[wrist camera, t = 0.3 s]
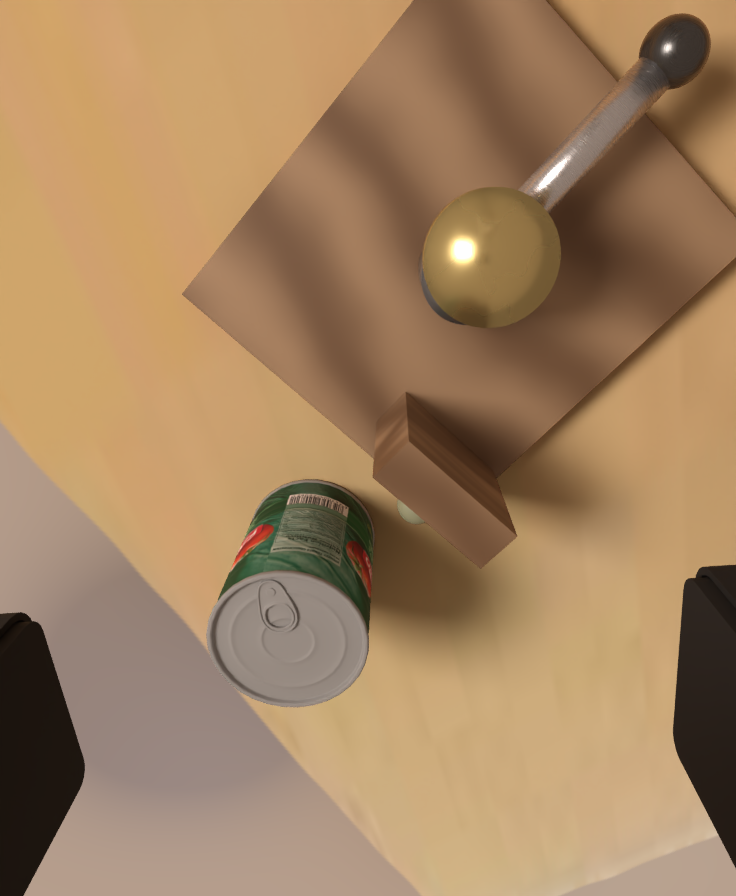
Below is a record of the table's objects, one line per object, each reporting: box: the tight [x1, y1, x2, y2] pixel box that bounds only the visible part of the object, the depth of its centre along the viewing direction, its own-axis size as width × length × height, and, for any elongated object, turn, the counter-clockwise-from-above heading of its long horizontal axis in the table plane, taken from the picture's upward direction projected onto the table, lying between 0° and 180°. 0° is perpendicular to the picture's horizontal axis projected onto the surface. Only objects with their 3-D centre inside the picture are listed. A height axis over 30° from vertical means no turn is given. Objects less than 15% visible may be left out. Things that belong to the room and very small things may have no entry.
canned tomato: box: [207, 480, 374, 707], centre depth 37 cm, size 8×8×11 cm
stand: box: [182, 0, 736, 569], centre depth 32 cm, size 22×20×10 cm
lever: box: [418, 14, 711, 328], centre depth 30 cm, size 16×6×5 cm, turn 138°
